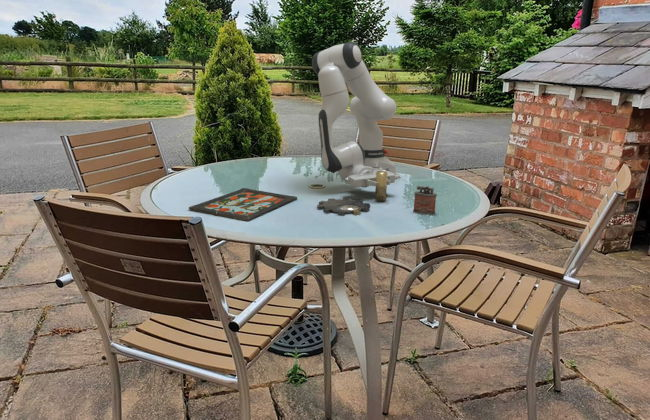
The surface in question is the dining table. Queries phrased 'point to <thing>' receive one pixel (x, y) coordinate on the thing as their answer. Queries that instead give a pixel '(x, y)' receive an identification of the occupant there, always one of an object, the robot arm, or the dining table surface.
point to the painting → (244, 204)
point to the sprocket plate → (343, 206)
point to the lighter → (424, 200)
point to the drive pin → (381, 185)
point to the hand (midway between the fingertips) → (382, 183)
